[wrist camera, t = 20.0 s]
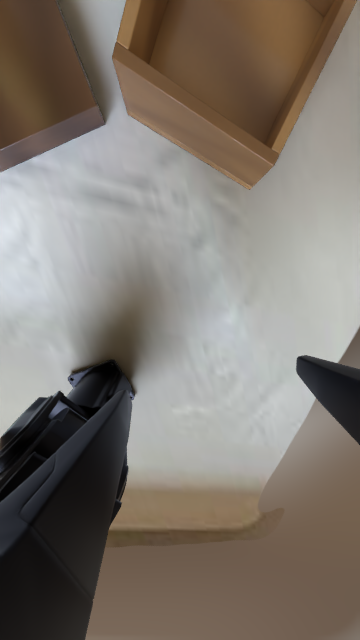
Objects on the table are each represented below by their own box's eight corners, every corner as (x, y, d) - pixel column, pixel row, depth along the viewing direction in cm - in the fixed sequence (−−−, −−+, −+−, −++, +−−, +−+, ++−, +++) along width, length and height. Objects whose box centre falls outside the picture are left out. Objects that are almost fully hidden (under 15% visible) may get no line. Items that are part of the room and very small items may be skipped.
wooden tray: (249, 190, 16) (274, 166, 13) (127, 114, 14) (111, 57, 10) (331, 22, 13) (397, -80, 9) (190, -108, 11) (201, -311, 7)
